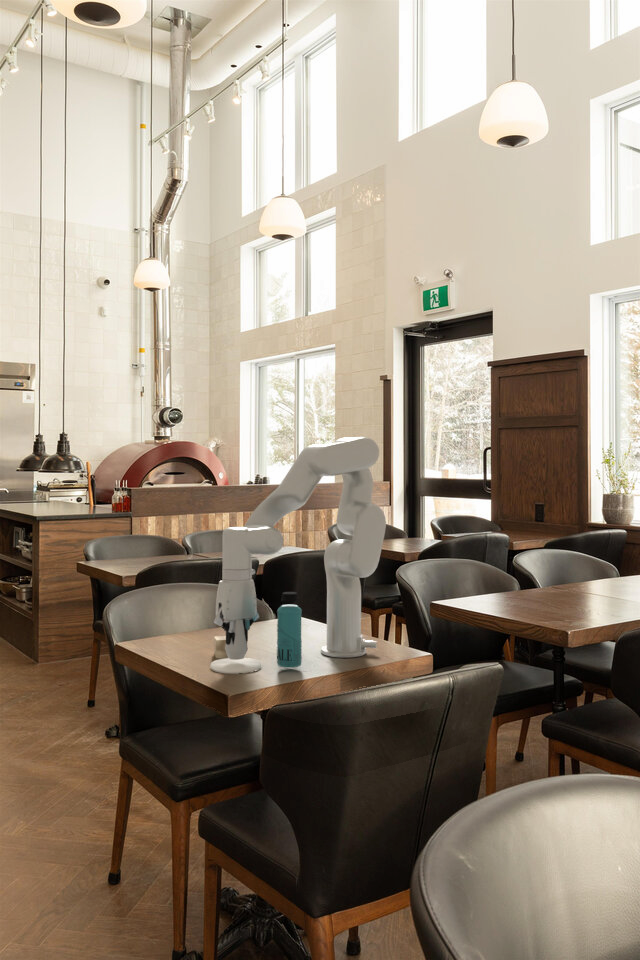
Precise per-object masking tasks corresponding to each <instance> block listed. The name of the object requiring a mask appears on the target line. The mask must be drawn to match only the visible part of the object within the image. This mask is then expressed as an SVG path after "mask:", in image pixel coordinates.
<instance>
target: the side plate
mask: <svg viewBox="0 0 640 960" xmlns="http://www.w3.org/2000/svg"><path fill="white" fill-rule="evenodd" d="M260 668H261V669H262V661H260V660H259V659H255V658H251V657H250V658H249V657H244V659H239V660H233V659H230V658H218V659H216V660H215V659H214V661H212V662H210V669H211V670H212V671H213V672H216V673H220V674H226V675H239V673H243V674H248V673H247V672H250V673H253V672H252V671H255V670H258V669H259V670H261V669H260ZM259 670H258V671H259ZM255 672H256V671H255Z"/></svg>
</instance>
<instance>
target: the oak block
mask: <svg viewBox="0 0 640 960" xmlns="http://www.w3.org/2000/svg"><path fill="white" fill-rule="evenodd" d="M213 638H214V640H213V641H214V642H213V644H214V648H213V649H214V651H213V654H214V657H215V659H224V658H228V656H227V653H226V651H225V646H226V635H216V636H215V635H214V637H213Z"/></svg>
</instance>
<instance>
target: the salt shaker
mask: <svg viewBox="0 0 640 960" xmlns="http://www.w3.org/2000/svg"><path fill="white" fill-rule="evenodd" d="M233 632H234V633H235V640H234V644H233V643H232V638H231V643H230V644H229V645H227V644H226V646H225V651H226V653H227V656H228V658H230V659H233V660H239V659H244V658H245V656H246V654H247V652H248V641H247V642H246V638H245V630H244V624H243V619H240V620H234V628H233Z"/></svg>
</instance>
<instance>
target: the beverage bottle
mask: <svg viewBox="0 0 640 960" xmlns="http://www.w3.org/2000/svg"><path fill="white" fill-rule="evenodd" d="M298 600H299V598H298V593H297V592H296V591H284V592H282V594H281V602H286V603H290V604H282V605H280V606H279V607H278V609H277V611H276V613H277V623H276V633H277V634H276V636H277V637H276V638H277V639H276V644H277V647H276V663H277V666H279V667H282V668H298V667H300V666H301V665H302V661H303V659H302V640H303V639H302V612H303V611H302V608H301V607H299V605H297V604H291V603H293V602H298Z"/></svg>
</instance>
